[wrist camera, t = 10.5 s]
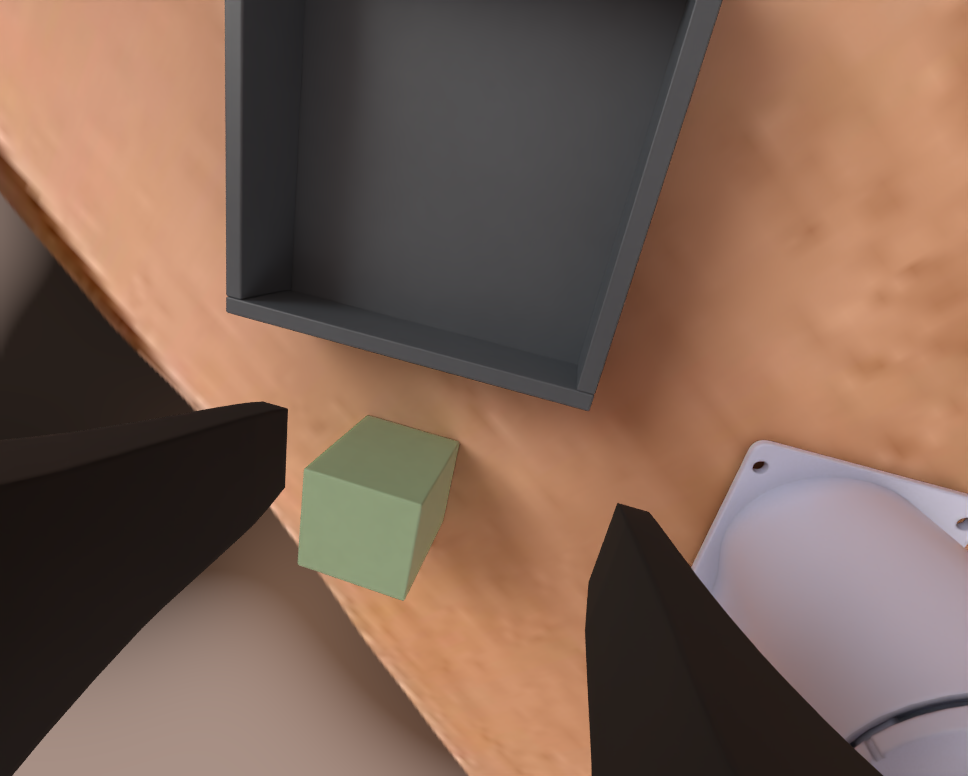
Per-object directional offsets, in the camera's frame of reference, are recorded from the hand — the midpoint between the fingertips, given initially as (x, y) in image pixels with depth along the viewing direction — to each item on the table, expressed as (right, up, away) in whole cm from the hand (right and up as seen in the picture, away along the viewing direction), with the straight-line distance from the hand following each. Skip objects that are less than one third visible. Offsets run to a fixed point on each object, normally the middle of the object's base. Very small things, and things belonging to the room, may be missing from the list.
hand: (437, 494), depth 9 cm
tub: (0, +10, +7) cm, 12 cm away
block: (-3, -2, +11) cm, 12 cm away
